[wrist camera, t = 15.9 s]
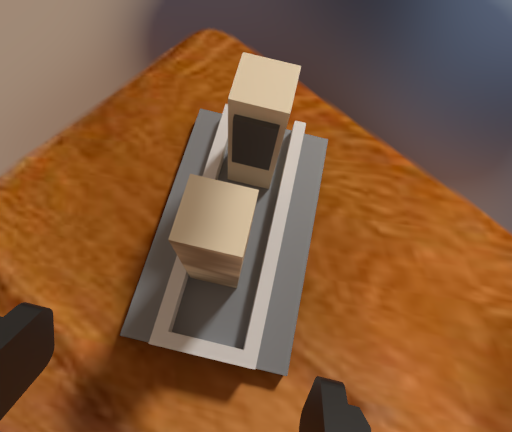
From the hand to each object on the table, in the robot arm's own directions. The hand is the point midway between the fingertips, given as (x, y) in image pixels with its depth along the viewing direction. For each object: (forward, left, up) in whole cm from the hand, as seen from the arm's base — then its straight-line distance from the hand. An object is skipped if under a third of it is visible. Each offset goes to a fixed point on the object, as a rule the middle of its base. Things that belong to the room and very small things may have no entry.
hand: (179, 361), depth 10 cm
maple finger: (+1, -6, -14) cm, 16 cm away
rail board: (0, -10, -16) cm, 18 cm away
